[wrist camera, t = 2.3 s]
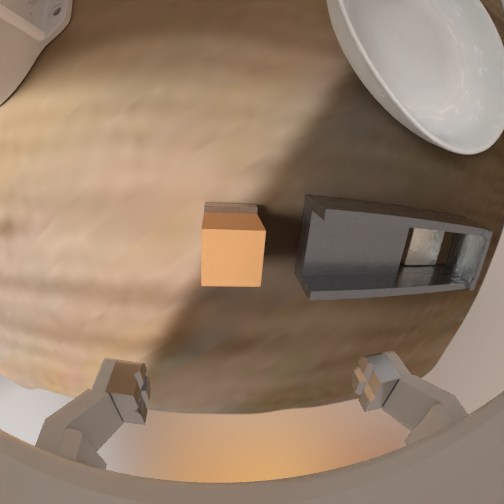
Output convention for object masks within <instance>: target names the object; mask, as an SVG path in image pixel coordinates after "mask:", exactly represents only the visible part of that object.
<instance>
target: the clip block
mask: <svg viewBox="0 0 504 504" xmlns="http://www.w3.org/2000/svg"><path fill="white" fill-rule="evenodd" d="M265 237H266V230H265V228H264V226H263V224H262V222H261V220H260V218H259V217H258V215H257V214H249V213H221V212H204V217H203V223H202V240H201V285H202V286H260V285H261V276H262V266H263V257H264V247H265Z"/></svg>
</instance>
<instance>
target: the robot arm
mask: <svg viewBox="0 0 504 504" xmlns="http://www.w3.org/2000/svg"><path fill="white" fill-rule="evenodd" d="M72 3H73V0H0V104H2V103H3V102H4V101H5V100H6V99H7V98H8V97H9V96H10V95H11V94H12V93H13V92H14V91H15V89H16V88H17V87H18V86H19V84H20V83H21V82H22V80H23V79H24V78H25V76H26V75H27V73H28V72H29V70H30V69H31V67H32V65H33V64H34V62H35V61H36V59H37V57H38V56H39V54H40V53H41V51H42V50H43V49H44V47H45V46H46V45H47V44H48V43H50V42H51V41H52V40H53V39H54V38H55V37H56V36H57V35H58V34H59V33H61V32H62V31H63V30H64V28H65V27H66V26H67V25H68V23H69V21H70V19H71V12H72ZM357 364H358V366H359V367H358V368H357V369H356V370H355V371H354V372H353V375H352V387H353V389H354V392H355V393H357V394H358V395H360V397H359V402H360V404H361V406H362V408H363V410H364V412H366V411H371V410H375V409H379V408H382V410H384V411H385V412H386V413H388V414H389V415H390V416H392V417H393V418H394V419H396V420H397V421H398V422H400V423H401V424H402V425H404V426H405V427H406V428H408V429H409V430H410V431H412V432H411V433H410V434H409V435H408V437H407V438H406V439H405V443H406V445H407V446H405V447H402V448H400V449H397V450H395V451H392V452H389V453H387V454H384V455H381V456H378V457H375V458H372V459H369V460H366V461H362V462H359V463H356V464H352V465H349V466H345V467H341V468H337V469H333V470H329V471H324V472H319V473H314V474H310V475H304V476H298V477H291V478H284V479H276V480H267V481H255V482H238V483H198V482H181V481H169V480H160V479H152V478H145V477H139V476H133V475H128V474H122V473H118V472H113V471H109V470H106V465H107V464H106V463H105V461H104V460H103V459H102V458H101V457H100V456H99V454H98V453H97V451H98V449H99V448H100V447H101V446H102V445H103V444H104V443H105V442H106V441H107V440H108V439H109V438H110V437H111V436H112V435H113V434H114V433H115V432H116V431H117V430H118V428H119V427H120V426H121V425H122V424H123V422H127V423H134V424H144V425H145V422H146V416H147V408H146V405H145V404H147V403H148V402H149V399H150V382H149V378H148V377H147V376H146V367H145V364H144V363H139V362H131V361H124V360H116V359H110V358H105V359H104V360H103V362H102V364H101V367H100V369H99V372H98V374H97V377H96V380H95V382H94V385H93V387H92V390H91V389H88V390H86V391H85V392H83V393H82V394H80V395H79V396H78V397H76V398H75V399H73V400H72V401H71V402H69V403H68V404H66V405H65V406H63V407H62V408H61V409H59V410H58V411H57V412H55V413H53V414H52V415H51V416H49V417H48V418H46V419H45V422H44V424H43V427H42V429H41V432H40V435H39V437H38V440H37V443H36V445H35V446H33V445H31V444H29V443H27V442H24V441H22V440H20V439H18V438H16V437H14V436H12V435H10V434H8V433H6V432H4V431H2V430H1V429H0V504H504V391H503V392H502V393H500V394H499V395H498V396H496V397H495V398H493V399H492V400H490V401H489V402H487V403H486V404H485V405H483V406H481V407H480V408H478V409H477V410H475V411H474V412H472V413H470V414H469V415H468V414H467V412H466V411H465V409H464V408H463V406H462V405H461V404H460V402H459V401H458V399H457V398H456V397H455V395H453V394H450V393H449V392H447V391H445V390H443V389H441V388H439V387H437V386H435V385H433V384H431V383H429V382H427V381H425V380H423V379H421V378H419V377H417V376H415V375H413V376H412V375H411V374H410V372H409V371H408V369H407V368H406V367H405V365H404V364H403V362H402V361H401V360H400V358H399V357H398V356H397V354H396V353H395V352H394V351H389V352H384V353H378V354H373V355H367V356H362V357H361V358H360V359H359V361H358V363H357Z"/></svg>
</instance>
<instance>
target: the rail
mask: <svg viewBox="0 0 504 504" xmlns="http://www.w3.org/2000/svg"><path fill="white" fill-rule="evenodd" d="M409 228H413V231H412V235H411V239H410V243H409V247H408V251H407V254H406V258H405V261H404V265H400V262H401V258H402V254H403V251H404V247H405V243H406V239H407V235H408V231H409ZM445 231H446V232H454V233H455V236H454V240H453V243H452V247H451V250H450V253H449V257H448V260H447V263H446V265H435V264H436V261H437V258H438V255H439V251H440V248H441V244H442V241H443V237H444V233H445ZM492 233H493V231H491V230H489V229H487V228H485V227H483V226H481V225H479V224H477V223H475V222H473V221H471V220H469V219H467V218H465V217H462V216H457V215H451V214H446V213H441V212H435V211H429V210H423V209H417V208H411V207H404V206H397V205H390V204H383V203H376V202H368V201H360V200H351V199H342V198H333V197H323V196H312V195H305V203H304V210H303V218H302V225H301V232H300V239H299V246H298V253H297V259H296V265H295V272H294V273H295V275H296V277H297V279H298V281H299V282H300V284H301V286H302V288H303V290H304V292H305V293H306V295H307V297H308V299H309V300H331V299H352V298H369V297H384V296H398V295H410V294H421V293H431V292H441V291H450V290H459V289H468V290H469V291H471V290H474V288H475V285H476V282H477V280H478V277H479V274H480V272H481V269H482V266H483V263H484V260H485V257H486V254H487V251H488V247H489V244H490V240H491V237H492Z"/></svg>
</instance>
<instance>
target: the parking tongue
mask: <svg viewBox="0 0 504 504" xmlns="http://www.w3.org/2000/svg"><path fill="white" fill-rule="evenodd" d="M257 209H258V207H257V206H256V204H234V203H205V205H204V212H221V213H249V214H257Z"/></svg>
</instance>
